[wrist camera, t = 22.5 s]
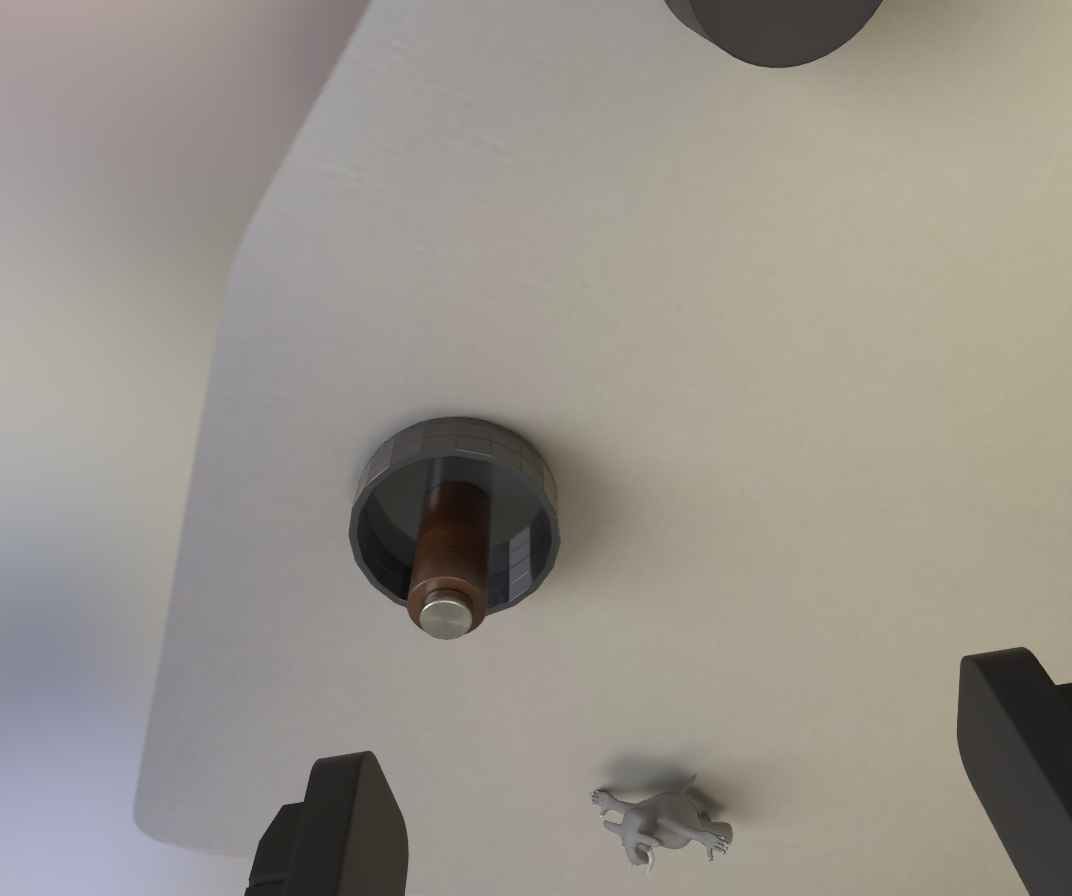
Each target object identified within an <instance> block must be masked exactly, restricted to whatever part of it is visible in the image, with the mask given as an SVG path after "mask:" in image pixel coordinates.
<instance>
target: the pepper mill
mask: <svg viewBox="0 0 1072 896" xmlns="http://www.w3.org/2000/svg"><path fill="white" fill-rule="evenodd" d="M490 531H491V505H490V502H489V500H488V498H487V497H486V495H485V494H484V493H483V492H482V491H481V490H479V489H478V488H476V487H475V486H473V485H471V484H467V483H463V482H448V483H444V484H441V485H439V486H437V487H435V488H434V489H432V490H431V491H430V492H429V493H428V494H427V496H426V497H425V499H424V501H423V505H422V511H421V517H420V523H419V530H418V536H417V542H416V549H415V555H414V561H413V568H412V574H411V580H410V587H409V593H408V599H407V610H408V613H409V616H410V618H411V619H412V621H413V622H414V623H415V624H416V625H417V626H418V627H419V628H420V629H422V630H423V631H425V632H427V633H428V634H429V635H431V636H433V637H435V638H438V639H445V640H448V639H455V638H458V637H460V636H462V635H464V634H467V633H469V632H471V631H473V630H474V629H476V628H477V627H478V626H479V625H480V624H481V623H482V621H483V620H484V618H485V616H486V613H487V604H488V579H489V555H490Z"/></svg>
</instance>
